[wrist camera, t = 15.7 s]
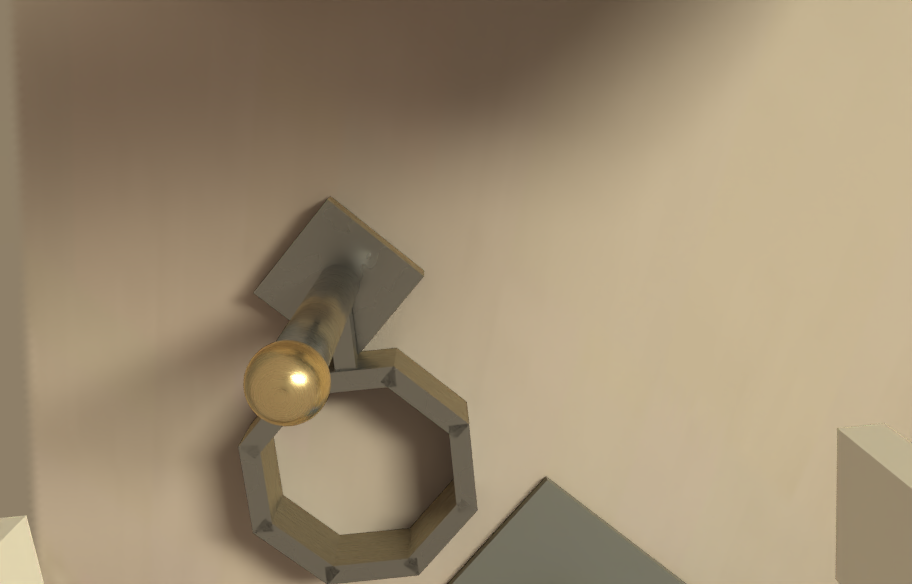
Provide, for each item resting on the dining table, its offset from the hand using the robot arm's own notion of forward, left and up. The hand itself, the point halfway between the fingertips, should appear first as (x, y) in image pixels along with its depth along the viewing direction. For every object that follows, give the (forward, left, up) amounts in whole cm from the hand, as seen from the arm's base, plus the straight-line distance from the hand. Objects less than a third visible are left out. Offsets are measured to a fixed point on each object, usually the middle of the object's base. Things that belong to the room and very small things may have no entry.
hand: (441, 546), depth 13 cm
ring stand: (+12, +3, -35) cm, 37 cm away
